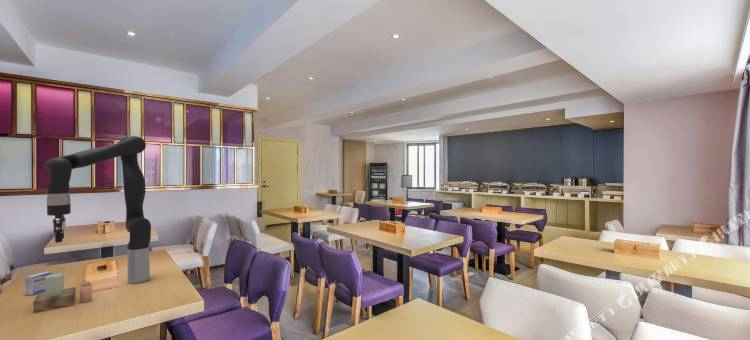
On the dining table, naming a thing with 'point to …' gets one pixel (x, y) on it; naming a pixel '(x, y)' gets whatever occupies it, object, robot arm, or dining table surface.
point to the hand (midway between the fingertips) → (59, 240)
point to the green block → (54, 285)
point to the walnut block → (54, 300)
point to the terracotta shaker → (85, 292)
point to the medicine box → (35, 283)
